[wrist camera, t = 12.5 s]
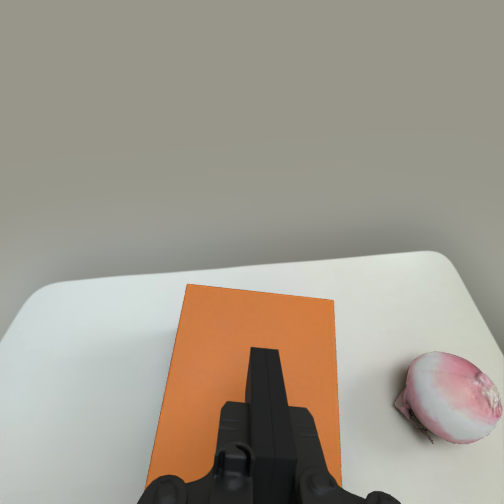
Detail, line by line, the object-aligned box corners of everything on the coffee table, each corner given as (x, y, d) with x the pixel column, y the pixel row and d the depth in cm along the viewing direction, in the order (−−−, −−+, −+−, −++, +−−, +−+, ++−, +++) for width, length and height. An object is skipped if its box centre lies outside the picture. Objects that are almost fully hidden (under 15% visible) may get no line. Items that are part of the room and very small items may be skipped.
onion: (474, 448, 29) (540, 449, 23) (397, 442, 29) (443, 442, 23) (450, 362, 34) (500, 345, 28) (382, 356, 33) (418, 338, 27)
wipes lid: (187, 286, 26) (186, 283, 25) (331, 302, 26) (334, 299, 26) (137, 533, 18) (134, 539, 18) (341, 551, 19) (345, 557, 18)
